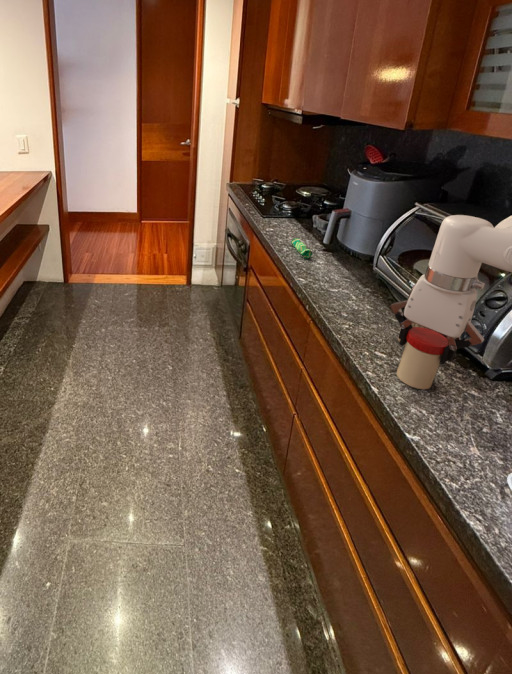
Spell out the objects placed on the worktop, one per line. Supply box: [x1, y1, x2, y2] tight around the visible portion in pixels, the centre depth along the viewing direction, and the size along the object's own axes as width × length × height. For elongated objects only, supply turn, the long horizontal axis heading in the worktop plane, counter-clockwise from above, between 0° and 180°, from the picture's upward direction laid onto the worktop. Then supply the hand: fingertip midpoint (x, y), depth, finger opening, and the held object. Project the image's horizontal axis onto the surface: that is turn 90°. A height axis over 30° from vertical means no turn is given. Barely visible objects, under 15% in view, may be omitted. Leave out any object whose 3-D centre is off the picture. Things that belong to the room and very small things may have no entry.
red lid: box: [406, 327, 448, 355], centre depth 81 cm, size 7×7×2 cm
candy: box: [290, 237, 313, 260], centre depth 148 cm, size 12×3×4 cm
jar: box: [396, 342, 443, 390], centre depth 83 cm, size 6×6×11 cm
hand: (423, 351), depth 82 cm, fingers closed on red lid, 6 cm apart
